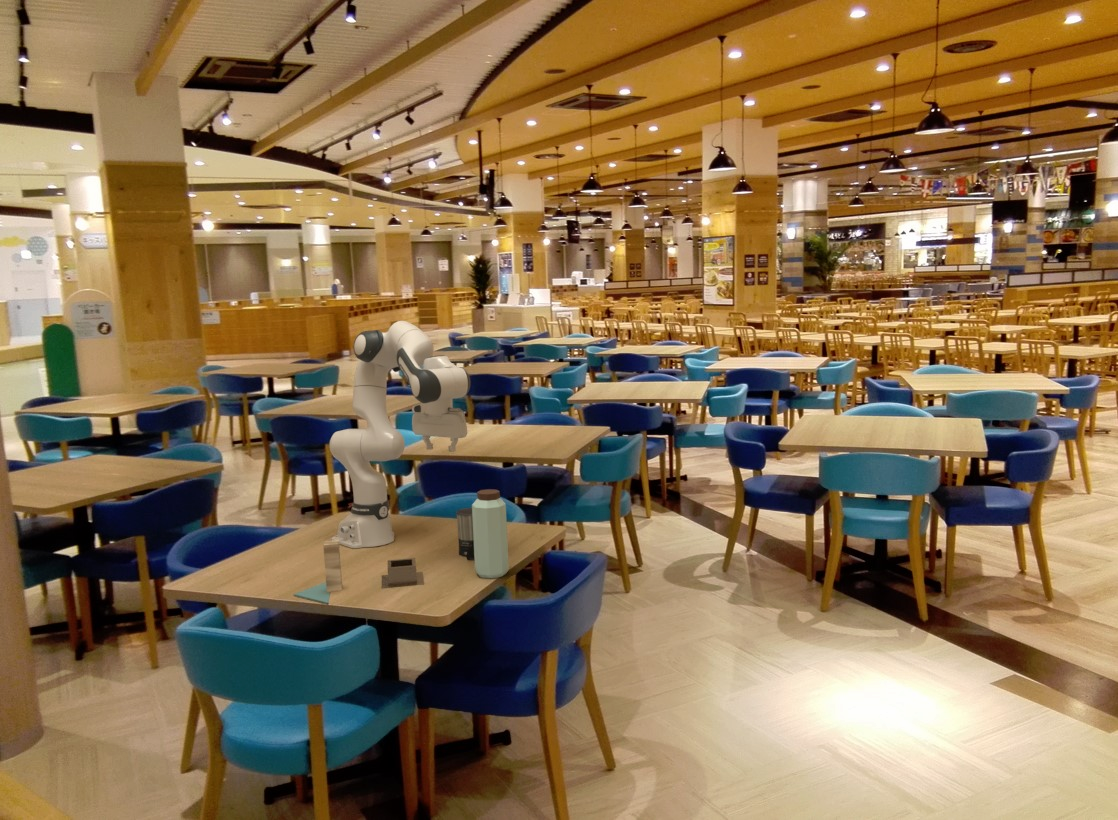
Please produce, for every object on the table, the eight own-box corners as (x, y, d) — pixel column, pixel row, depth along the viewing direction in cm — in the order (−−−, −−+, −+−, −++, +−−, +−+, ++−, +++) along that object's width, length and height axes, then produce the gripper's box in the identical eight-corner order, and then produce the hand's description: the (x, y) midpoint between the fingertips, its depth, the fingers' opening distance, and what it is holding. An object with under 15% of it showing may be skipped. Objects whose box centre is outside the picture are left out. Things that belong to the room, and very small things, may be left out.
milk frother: (454, 560, 273) (452, 514, 271) (466, 545, 288) (464, 502, 286) (499, 560, 271) (497, 514, 269) (508, 546, 287) (506, 502, 285)
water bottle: (477, 569, 263) (473, 488, 260) (510, 568, 263) (506, 487, 260) (473, 579, 253) (468, 496, 250) (507, 579, 253) (503, 495, 250)
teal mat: (293, 595, 245) (293, 594, 245) (337, 579, 258) (337, 577, 258) (332, 605, 236) (332, 603, 236) (375, 588, 249) (375, 586, 249)
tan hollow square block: (381, 578, 257) (380, 559, 257) (422, 574, 260) (421, 555, 259) (381, 591, 246) (380, 571, 245) (424, 587, 248) (423, 567, 247)
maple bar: (327, 588, 249) (324, 541, 247) (342, 587, 249) (339, 540, 247) (326, 593, 245) (323, 545, 243) (341, 591, 245) (338, 543, 243)
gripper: (470, 407, 269) (472, 451, 271) (421, 404, 280) (424, 446, 282) (457, 409, 264) (459, 454, 266) (407, 406, 275) (410, 449, 277)
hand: (440, 450), depth 274 cm, fingers open, 8 cm apart
